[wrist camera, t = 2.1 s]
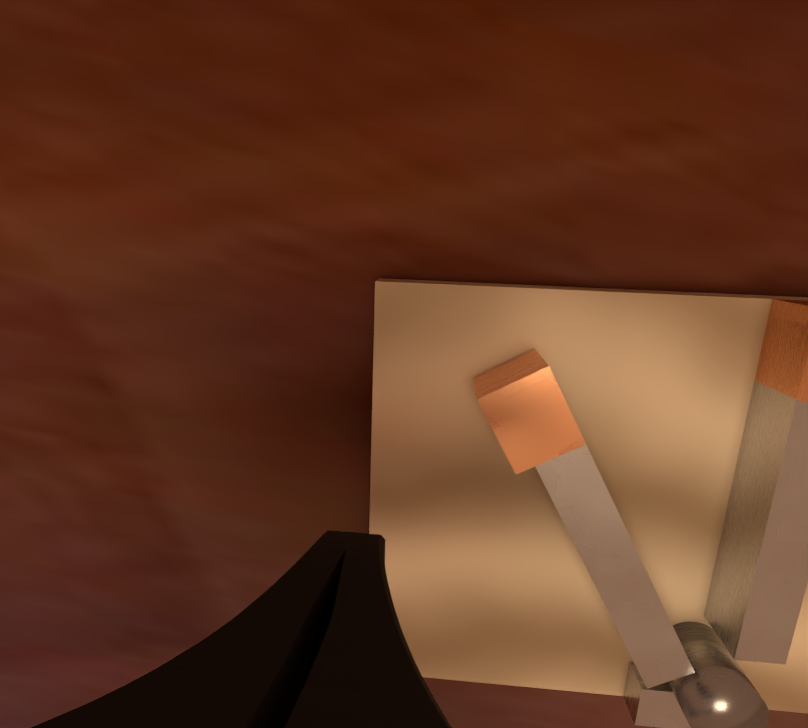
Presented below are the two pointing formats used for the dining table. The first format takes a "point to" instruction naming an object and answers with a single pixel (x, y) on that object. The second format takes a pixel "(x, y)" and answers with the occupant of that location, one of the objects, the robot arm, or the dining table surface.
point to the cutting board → (526, 493)
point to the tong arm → (581, 506)
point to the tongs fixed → (749, 552)
